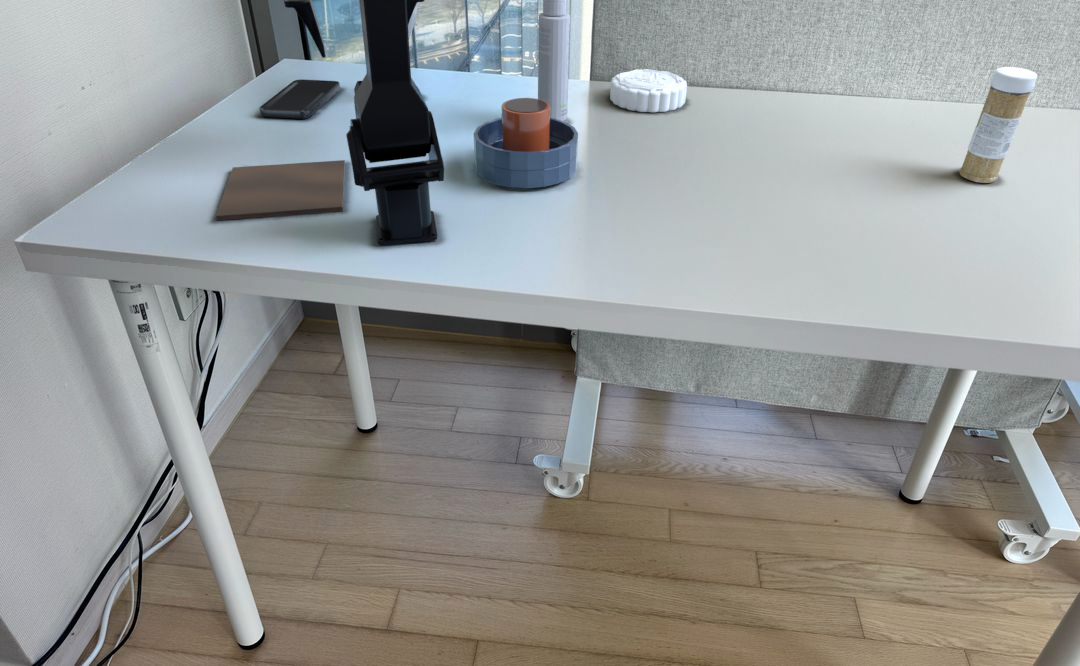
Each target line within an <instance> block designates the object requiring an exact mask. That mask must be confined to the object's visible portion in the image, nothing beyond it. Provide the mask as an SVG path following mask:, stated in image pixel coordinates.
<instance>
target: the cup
mask: <svg viewBox="0 0 1080 666" xmlns="http://www.w3.org/2000/svg"><path fill="white" fill-rule="evenodd" d="M501 118H502V149H504V150H509V151H522V152H531V151H544V150H549V149H550V104H549V103H548V102H546V101H543V100H540V99H538V98H534V97H518V98H512V99H508V100H506V101H504V102H502V104H501Z"/></svg>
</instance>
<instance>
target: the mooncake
mask: <svg viewBox="0 0 1080 666" xmlns="http://www.w3.org/2000/svg"><path fill="white" fill-rule="evenodd" d="M687 90H688V82H687V81H686V80H685V79H684V78H683V77H681V76H679V75H678V74H676V73H672V72H670V71H666V70H665V71H663V70H656V69H650V68H646V69H641V68H640V69H639V68H636V69H633V70H630V71H624V72H619V73H618V74H615V76H613V77H612V78H611V80H610V92H609V93H610V94H609V99H610V101H611V102H612V104H613V105H615V106H618V107H619V108H621V109H626V110H628V111H633V112H635V111H636V112H639V113H650V114H651V113H655V114H656V113H666V112H669V111H670V112H671V111H675V110H676V109H680V108H681V107H683V105H685V103H686V100H687V99H686V98H687Z"/></svg>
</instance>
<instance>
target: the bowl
mask: <svg viewBox="0 0 1080 666" xmlns="http://www.w3.org/2000/svg"><path fill="white" fill-rule="evenodd" d="M578 143H579V132H578V130H577V129H576V127H574V126H573V125H571V124H570V123H568V122H564V121H561V120H558V119H554V118H550V149H549V150H544V151H531V152H522V151H509V150H504V149H502V117H497V118H493V119H490V120H488V121H485V122H483V123H481V124H480V125H479V126H477V127H476V128H475V130H474V132H473V150H474V152H473V153H474V168H475V171H476V174H477V175H478V176H479V177H481V178H482V179H483V180H485V181H486V182H489V183H492V184H495V185H497V186H503V187H507V188H519V189H520V188H521V189H534V188H545V187H549V186H553V185H558V184H561V183H562V182H565V181H567V180H570V178H572V176H574V175H575V174H576V171H577V166H578V148H579V146H578V145H579V144H578Z"/></svg>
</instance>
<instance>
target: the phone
mask: <svg viewBox="0 0 1080 666" xmlns="http://www.w3.org/2000/svg"><path fill="white" fill-rule="evenodd" d="M340 84H341V83H340V82H339V81H337V80H321V79H300V78H299V79H295V80H293V81H291V82H290V83H289V84H288V85H285V87H283V88H282V89H281V90H280V91H278V92H277V93H276V94H275V95H274V96H272V97H271V98H269V100H267V101H266V102H264V103H263V104H262V105H260V106H259V111H260V116H261V117H263V118H277V119H280V118H281V119H294V120H295V119H296V120H297V119H298V120H304V119H305V120H306V119H309V118H311V117H312V116H314V114H316V113H317V112H318V111H319V110H320V109H321V108H323V106H324V105H326V104H327V103H328V102H329V101H330V100H331V99H332V98H333V97H334V96H335V95H336V94H337V93H339V92H340V91H341V85H340Z"/></svg>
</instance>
